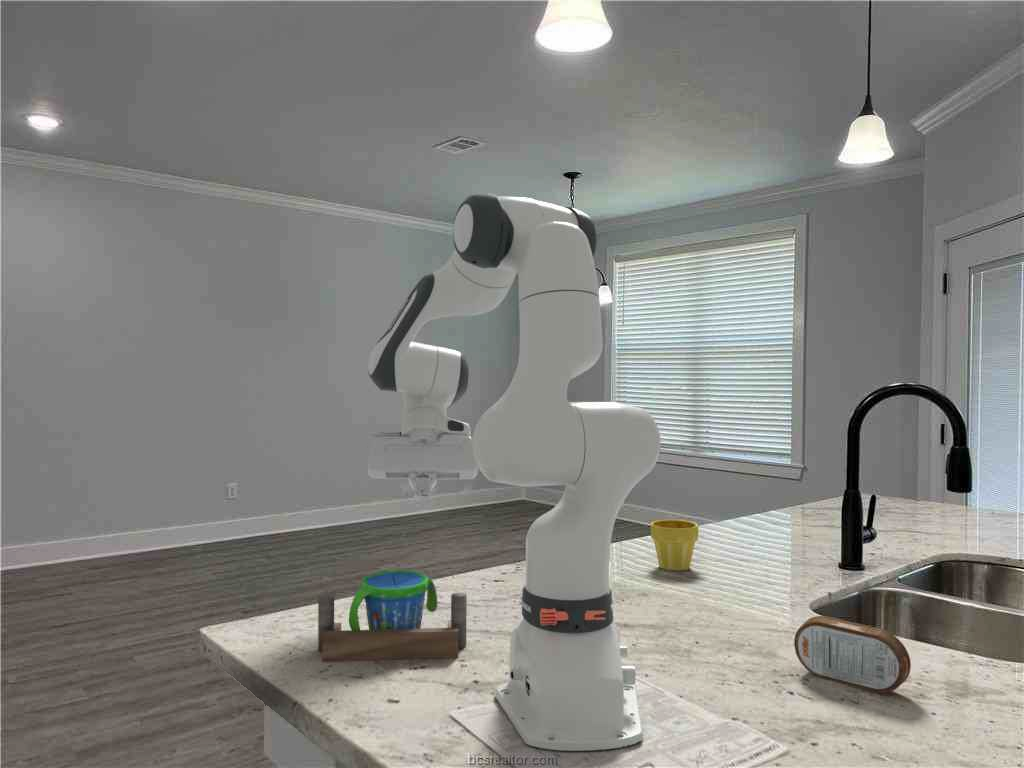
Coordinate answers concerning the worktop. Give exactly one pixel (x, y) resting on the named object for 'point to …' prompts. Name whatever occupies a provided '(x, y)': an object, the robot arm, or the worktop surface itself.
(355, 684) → the worktop surface
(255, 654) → the worktop surface
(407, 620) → the snack cup
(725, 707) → the worktop surface
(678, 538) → the plant pot
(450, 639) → the cradle
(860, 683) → the tin
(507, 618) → the worktop surface
